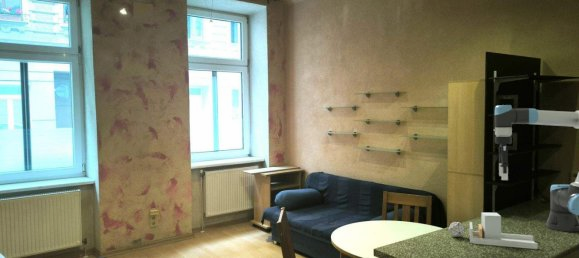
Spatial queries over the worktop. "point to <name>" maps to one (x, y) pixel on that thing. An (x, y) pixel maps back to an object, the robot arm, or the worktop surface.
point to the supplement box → (491, 226)
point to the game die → (456, 229)
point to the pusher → (480, 231)
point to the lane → (504, 240)
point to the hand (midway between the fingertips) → (503, 178)
